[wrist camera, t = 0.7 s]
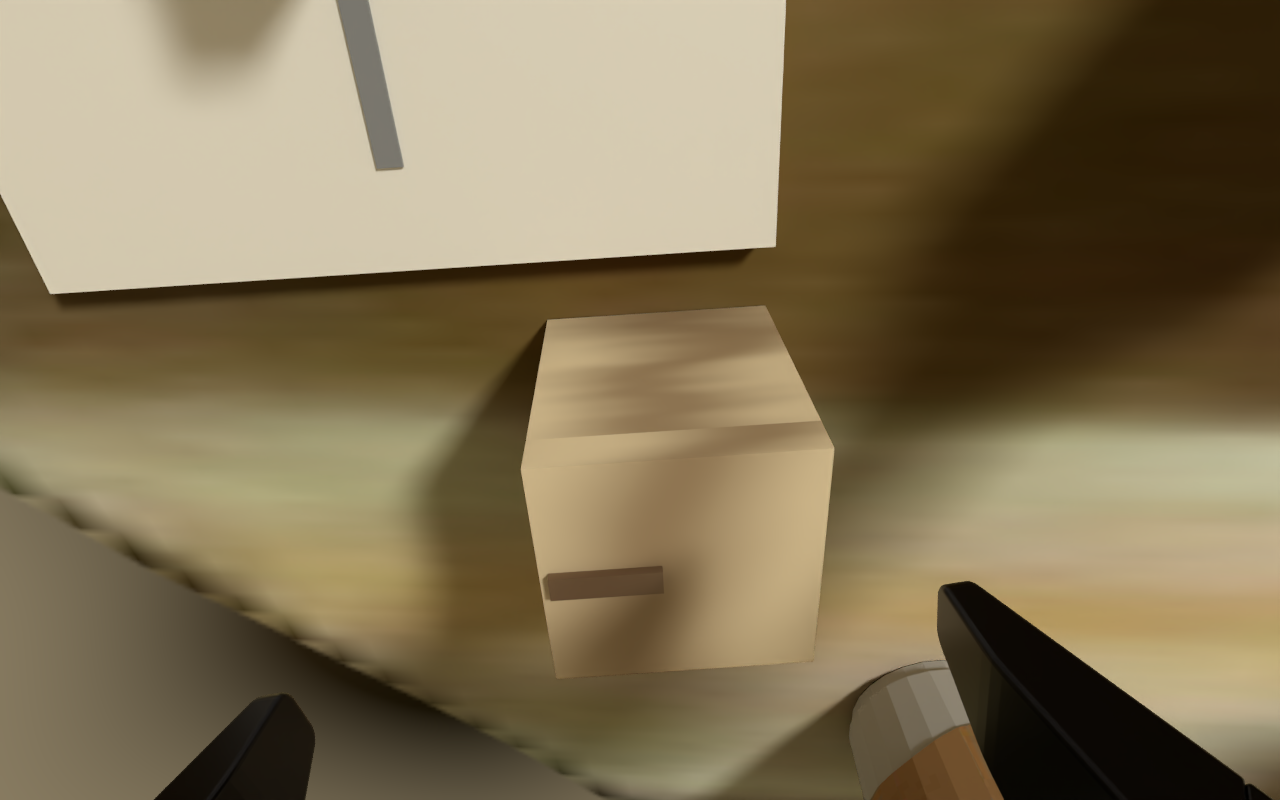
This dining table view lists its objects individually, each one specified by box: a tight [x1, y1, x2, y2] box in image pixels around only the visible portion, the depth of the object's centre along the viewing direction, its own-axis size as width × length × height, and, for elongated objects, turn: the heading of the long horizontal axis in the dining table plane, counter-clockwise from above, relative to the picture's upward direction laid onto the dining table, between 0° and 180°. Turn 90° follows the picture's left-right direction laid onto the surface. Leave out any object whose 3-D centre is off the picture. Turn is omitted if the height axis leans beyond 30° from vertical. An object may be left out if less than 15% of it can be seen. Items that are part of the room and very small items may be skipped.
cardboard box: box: [521, 306, 835, 679], centre depth 18 cm, size 6×6×7 cm
